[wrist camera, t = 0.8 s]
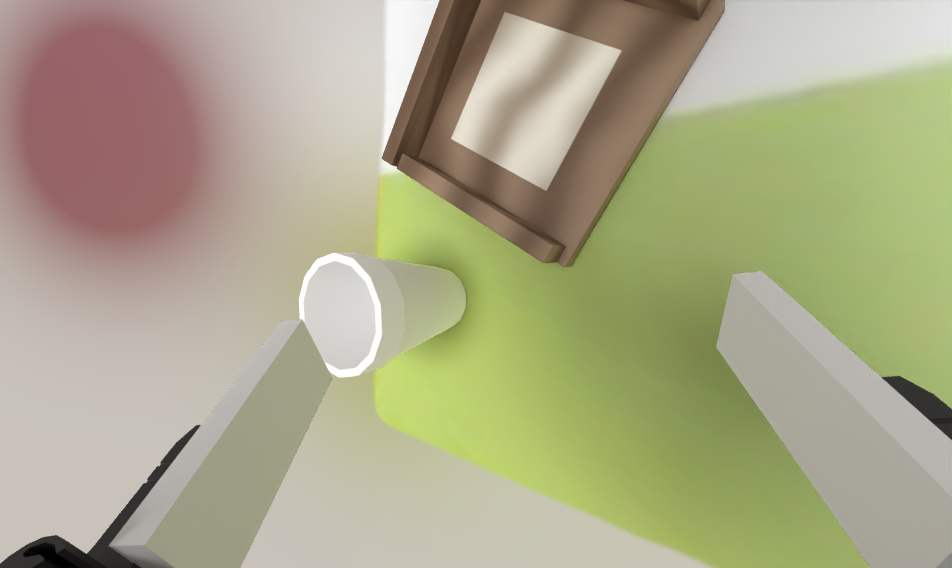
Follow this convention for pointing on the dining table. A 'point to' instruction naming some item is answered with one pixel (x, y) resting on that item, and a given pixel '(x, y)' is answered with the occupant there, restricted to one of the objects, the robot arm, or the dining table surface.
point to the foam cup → (375, 309)
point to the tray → (542, 108)
